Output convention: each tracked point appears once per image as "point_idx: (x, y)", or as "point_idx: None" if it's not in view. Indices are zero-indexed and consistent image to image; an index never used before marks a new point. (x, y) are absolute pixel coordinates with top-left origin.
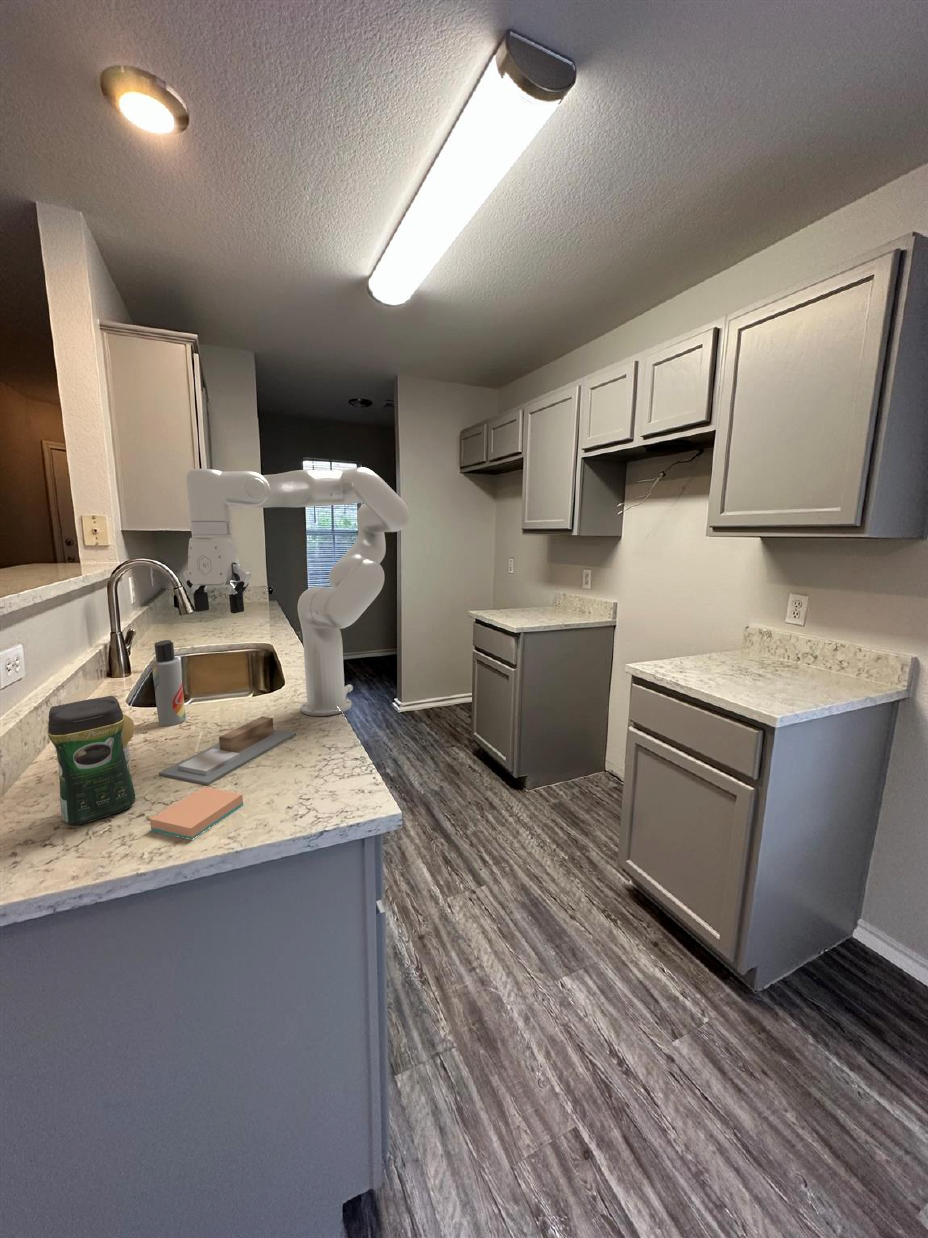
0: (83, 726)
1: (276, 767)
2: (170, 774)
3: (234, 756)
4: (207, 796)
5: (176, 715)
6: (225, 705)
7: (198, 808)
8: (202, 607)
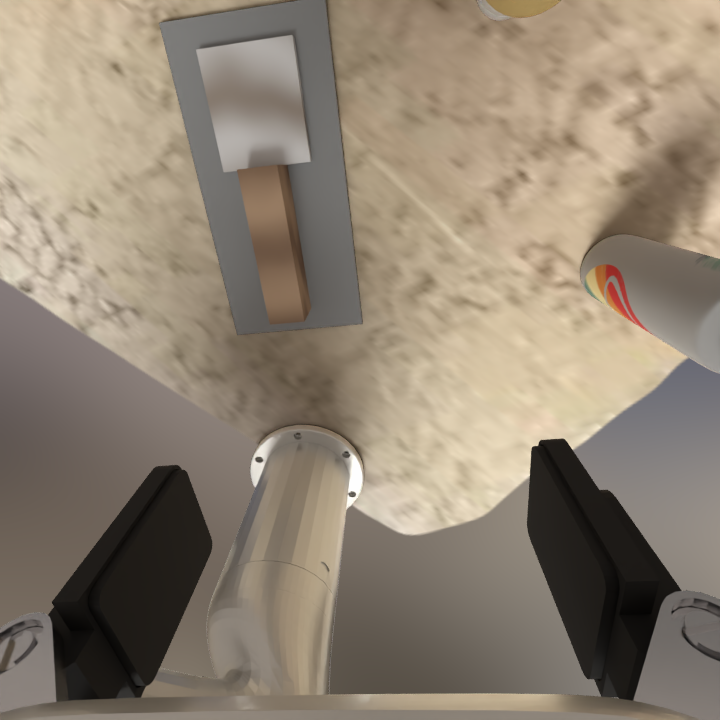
0: None
1: (121, 179)
2: (284, 4)
3: (220, 154)
4: None
5: (593, 265)
6: (564, 404)
7: None
8: (540, 501)
